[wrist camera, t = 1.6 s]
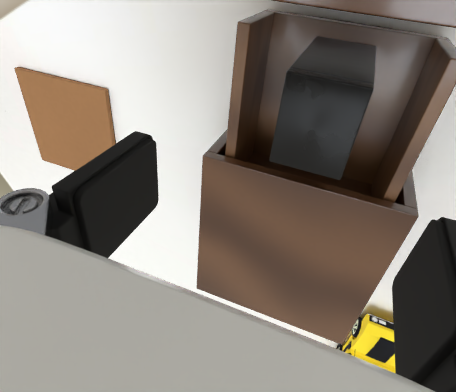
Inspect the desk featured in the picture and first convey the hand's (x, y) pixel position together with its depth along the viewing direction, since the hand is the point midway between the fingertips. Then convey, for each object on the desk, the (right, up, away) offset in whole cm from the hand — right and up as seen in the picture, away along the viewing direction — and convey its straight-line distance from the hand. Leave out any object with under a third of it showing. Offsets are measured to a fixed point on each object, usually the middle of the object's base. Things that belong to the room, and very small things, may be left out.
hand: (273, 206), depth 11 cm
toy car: (+16, -17, +29) cm, 38 cm away
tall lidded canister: (+6, +9, +12) cm, 17 cm away
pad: (-20, +8, +28) cm, 35 cm away
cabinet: (+6, 0, +22) cm, 23 cm away
